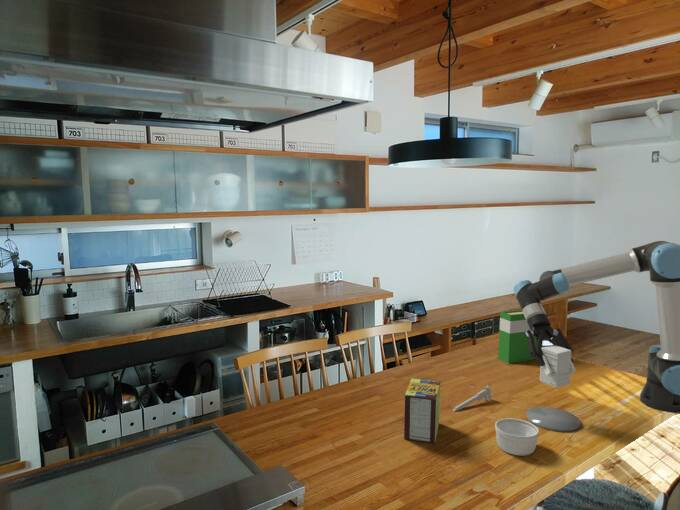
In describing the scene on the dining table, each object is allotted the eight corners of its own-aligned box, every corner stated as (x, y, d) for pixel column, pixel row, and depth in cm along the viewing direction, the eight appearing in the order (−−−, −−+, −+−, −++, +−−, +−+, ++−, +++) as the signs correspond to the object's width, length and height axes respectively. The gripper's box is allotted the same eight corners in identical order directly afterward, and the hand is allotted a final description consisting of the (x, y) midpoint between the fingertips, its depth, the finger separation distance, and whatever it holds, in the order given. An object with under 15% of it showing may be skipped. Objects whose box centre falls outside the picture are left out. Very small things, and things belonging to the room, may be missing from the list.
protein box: (439, 423, 173) (440, 381, 171) (435, 444, 158) (436, 398, 157) (410, 419, 176) (411, 377, 174) (403, 439, 161) (404, 394, 159)
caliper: (488, 399, 194) (488, 384, 194) (490, 400, 193) (491, 385, 193) (452, 411, 183) (452, 395, 182) (454, 412, 182) (454, 396, 181)
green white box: (526, 355, 249) (528, 309, 246) (536, 359, 242) (539, 312, 240) (498, 358, 243) (500, 311, 240) (508, 363, 236) (510, 315, 233)
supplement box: (552, 377, 180) (554, 344, 178) (570, 384, 173) (572, 350, 172) (538, 381, 176) (540, 347, 175) (556, 388, 170) (558, 353, 168)
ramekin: (503, 433, 166) (504, 414, 165) (543, 446, 158) (544, 425, 157) (487, 448, 156) (488, 428, 155) (529, 463, 147) (530, 441, 147)
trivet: (585, 418, 178) (585, 415, 178) (573, 437, 164) (573, 434, 163) (534, 405, 189) (534, 402, 188) (519, 421, 174) (519, 419, 174)
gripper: (556, 321, 190) (582, 375, 176) (506, 324, 185) (528, 379, 172) (566, 311, 184) (593, 366, 170) (514, 313, 179) (538, 370, 166)
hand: (561, 373), depth 171 cm, fingers closed on supplement box, 9 cm apart
